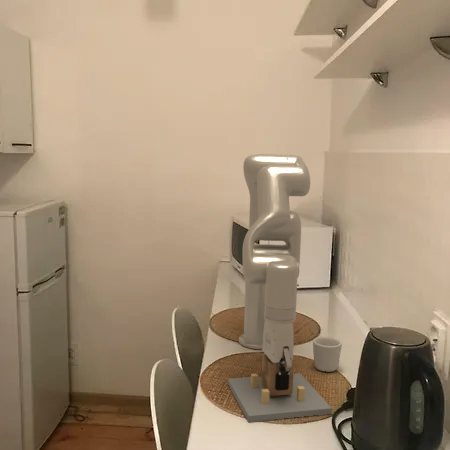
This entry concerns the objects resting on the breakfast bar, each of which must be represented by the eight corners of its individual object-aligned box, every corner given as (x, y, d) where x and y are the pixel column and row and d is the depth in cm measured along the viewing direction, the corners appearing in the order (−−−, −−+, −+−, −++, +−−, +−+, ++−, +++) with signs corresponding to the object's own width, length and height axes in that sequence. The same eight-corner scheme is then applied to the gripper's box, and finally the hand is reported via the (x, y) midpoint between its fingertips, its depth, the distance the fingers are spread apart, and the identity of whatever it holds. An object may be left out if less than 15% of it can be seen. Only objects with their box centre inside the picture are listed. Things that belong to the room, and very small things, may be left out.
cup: (325, 358, 158) (326, 332, 157) (349, 365, 153) (351, 338, 152) (306, 368, 149) (307, 341, 148) (331, 376, 144) (333, 348, 143)
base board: (227, 384, 138) (228, 367, 137) (299, 378, 143) (300, 362, 142) (248, 422, 119) (249, 403, 118) (331, 414, 123) (332, 396, 123)
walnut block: (261, 385, 133) (262, 354, 131) (284, 383, 134) (285, 353, 133) (268, 396, 127) (270, 364, 126) (292, 394, 128) (293, 362, 127)
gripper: (254, 303, 135) (252, 370, 138) (277, 324, 119) (273, 400, 121) (282, 301, 137) (279, 368, 139) (308, 323, 120) (304, 398, 123)
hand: (277, 382), depth 130 cm, fingers open, 6 cm apart
